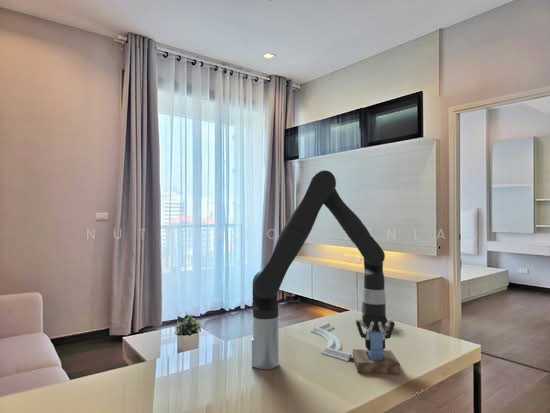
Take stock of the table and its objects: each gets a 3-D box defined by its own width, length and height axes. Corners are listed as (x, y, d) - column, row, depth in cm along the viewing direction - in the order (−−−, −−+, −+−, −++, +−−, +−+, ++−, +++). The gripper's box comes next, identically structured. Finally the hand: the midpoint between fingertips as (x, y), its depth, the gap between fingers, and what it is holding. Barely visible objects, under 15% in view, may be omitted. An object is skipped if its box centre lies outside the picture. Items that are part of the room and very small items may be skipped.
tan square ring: (357, 372, 117) (357, 362, 117) (352, 358, 129) (352, 349, 129) (400, 374, 116) (400, 363, 116) (391, 360, 128) (391, 350, 128)
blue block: (372, 363, 118) (371, 334, 119) (367, 353, 127) (366, 326, 128) (384, 364, 118) (383, 334, 118) (378, 354, 127) (377, 326, 127)
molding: (358, 363, 126) (358, 355, 126) (325, 363, 126) (325, 355, 126) (332, 327, 169) (332, 321, 169) (308, 327, 168) (308, 321, 168)
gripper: (392, 299, 127) (392, 346, 126) (352, 298, 128) (353, 345, 127) (397, 303, 119) (398, 354, 118) (355, 303, 120) (356, 353, 120)
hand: (375, 349), depth 123 cm, fingers closed on blue block, 4 cm apart
